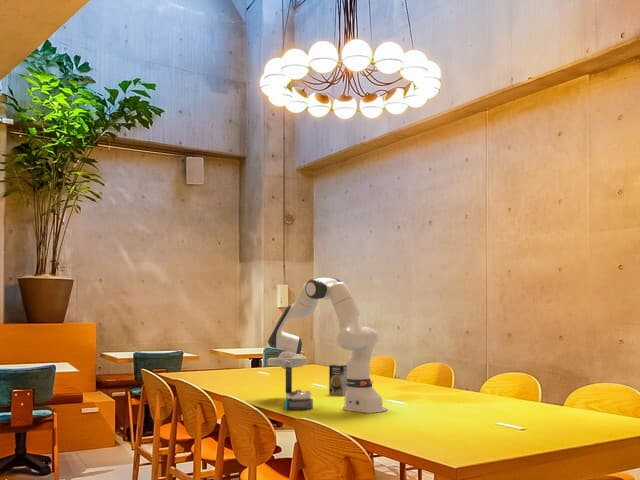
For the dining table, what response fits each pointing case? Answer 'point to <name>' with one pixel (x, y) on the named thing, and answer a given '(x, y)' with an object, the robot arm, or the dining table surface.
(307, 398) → the disc with upright handle
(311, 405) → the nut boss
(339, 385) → the coffee box
